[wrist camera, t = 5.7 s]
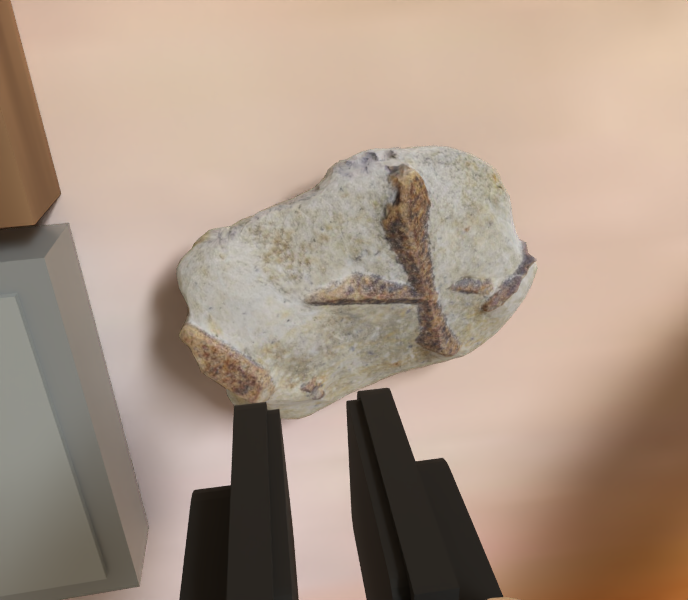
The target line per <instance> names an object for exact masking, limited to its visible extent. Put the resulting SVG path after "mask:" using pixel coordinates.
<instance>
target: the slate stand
mask: <svg viewBox="0 0 688 600" xmlns="http://www.w3.org/2000/svg"><path fill="white" fill-rule="evenodd" d="M148 529H149V526H148V522H147V518H146V514H145V511H144V507H143V503H142V499H141V495H140V492H139V488H138V484H137V480H136V476H135V473H134V469H133V465H132V461H131V457H130V454H129V450H128V446H127V442H126V438H125V435H124V431H123V427H122V423H121V419H120V416H119V412H118V408H117V404H116V400H115V397H114V393H113V389H112V385H111V381H110V378H109V374H108V370H107V366H106V362H105V359H104V355H103V351H102V347H101V343H100V340H99V336H98V332H97V328H96V324H95V321H94V317H93V313H92V309H91V305H90V302H89V298H88V294H87V290H86V286H85V283H84V279H83V275H82V271H81V267H80V264H79V260H78V256H77V252H76V248H75V245H74V241H73V237H72V233H71V229H70V226H69V223H64V224H53V225H42V226H31V227H20V228H9V229H0V600H62V599H68V598H74V597H80V596H86V595H92V594H97V593H103V592H109V591H115V590H121V589H127V588H133V587H139V586H140V581H141V575H142V568H143V562H144V555H145V549H146V542H147V536H148Z"/></svg>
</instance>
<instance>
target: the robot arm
mask: <svg viewBox="0 0 688 600" xmlns="http://www.w3.org/2000/svg"><path fill="white" fill-rule="evenodd" d="M346 406H347V428H348V449H349V470H350V491H351V512H352V522H353V530H354V535H355V541H356V546H357V551H358V556H359V562H360V567H361V572H362V577H363V583H364V588H365V593H366V598H367V600H519V599H514V598H510V597H503V595H502V592H501V590H500V588H499V585H498V583H497V580H496V578H495V576H494V573H493V571H492V568H491V566H490V564H489V561H488V559H487V556H486V554H485V552H484V549H483V547H482V544H481V542H480V540H479V537H478V535H477V532H476V530H475V528H474V525H473V523H472V521H471V518H470V516H469V513H468V511H467V509H466V506H465V504H464V501H463V499H462V497H461V494H460V492H459V489H458V487H457V485H456V482H455V480H454V477H453V475H452V473H451V470H450V468H449V466H448V464H447V462H446V461H445V460H444V459H443V458H439V459H431V460H423V461H416V462H415V459H414V456H413V453H412V451H411V448H410V445H409V442H408V439H407V436H406V433H405V431H404V428H403V425H402V422H401V419H400V416H399V414H398V411H397V408H396V405H395V402H394V399H393V396H392V394H391V391H390V389H389V388H382V389H373V390H364V391H358V392H357V400H351V401H347V404H346ZM179 600H299V599H298V587H297V574H296V561H295V549H294V536H293V526H292V516H291V507H290V498H289V489H288V480H287V471H286V462H285V453H284V444H283V435H282V426H281V418H280V409H274V410H268V409H267V403H266V402H260V403H252V404H243V405H235V406H234V420H233V446H232V471H231V485H230V486H222V487H214V488H206V489H198V490H194V491H193V493H192V498H191V505H190V513H189V522H188V531H187V539H186V548H185V556H184V565H183V573H182V582H181V590H180V599H179Z"/></svg>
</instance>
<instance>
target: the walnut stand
mask: <svg viewBox="0 0 688 600" xmlns="http://www.w3.org/2000/svg"><path fill="white" fill-rule="evenodd" d="M60 194H61V191H60V188H59V184H58V180H57V176H56V172H55V169H54V165H53V161H52V157H51V153H50V150H49V146H48V142H47V138H46V134H45V131H44V127H43V123H42V119H41V115H40V112H39V108H38V104H37V100H36V96H35V93H34V89H33V85H32V81H31V77H30V74H29V70H28V66H27V62H26V58H25V55H24V51H23V47H22V43H21V39H20V36H19V32H18V28H17V24H16V20H15V16H14V13H13V9H12V5H11V1H10V0H0V228H5V227H16V226H27V225H35V224H36V223H37V221H38V220H39V219H40V218H41V217H42V216H43V214H44V213H45V212H46V211H47V210H48V209H49V207H50V206H51V205H52V204H53V203H54V201H55V200H56V199H57V198H58V197H59V196H60Z"/></svg>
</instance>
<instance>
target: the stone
mask: <svg viewBox="0 0 688 600" xmlns="http://www.w3.org/2000/svg"><path fill="white" fill-rule="evenodd" d="M535 261H536V258H534V257H532V256H531V255H530V254H529V253H528V250H527V245H526V242H524V241H522V240H520V239H519V237H518V235H517V233H516V230H515V226H514V223H513V218H512V208H511V202H510V197H509V194H508V193H507V191H506V189H505V187H504V185H503V184H502V182H501V179H500V176H499V174H498V172H497V171H496V169H494V168H493V167H492V166H491V165H489V164H488V163H486V162H484V161H483V160H481V159H479V158H477V157H475V156H474V155H472V154H470V153H467V152H464V151H460V150H457V149H454V148H450V147H445V146H419V147H409V148H404V149H402V148H399V147H397V148H389V149H370V150H366V151H363V152H360V153H358V154H356V155H354V156H352V157H350V158H348V159H346V160H341V161H339V162H338V163H335V164H334V165H333V166H332V167H331V168H329V169H328V171H327V173H326V175H325V177H324V178H323V179H322V180H321V181H320V182H319V183H318V185H317V186H315V187H314V188H312V189H311V190H308V191H306V192H304V193H302V194H300V195H298V196H296V197H295V198H293V199H290V200H287V201H284V202H281V203H278V204H276V205H273V206H271V207H269V208H267V209H264V210H262V211H260V212H258V213H257V214H255V215H254V216H249V217H247V218H244V219H242V220H240V221H238V222H237V223H235V224H234V225H232V226H229V227H223V228H215V229H212V230H209V231H208V232H206V233H205V234H204V235H203V236H202V237H200V238H199V239H198V240H197V241H196V242H195V243H194V245H193V247H192V249H191V250H190V251H189V252H188V253H187V254H186V255H185V256H184V257H183V258H182V259H181V261H180V263H179V265H178V267H177V270H176V276H177V280H178V285H179V289H180V291H181V293H182V295H183V297H184V299H185V301H186V303H187V305H188V312H187V319H186V321H185V323H184V325H183V327H182V329H181V331H180V334H179V338H180V339H181V340H182V342H183V343H185V344H186V345H187V346H188V347H190V349H191V351H192V353H193V355H194V357H195V359H196V361H197V363H198V366H199V368H200V371H201V372H202V373H203V374H205V375H206V376H207V377H209V378H210V379H212V380H214V381H215V382H217V383H218V384H220V385H221V386H223V387H224V388H225V389H226V391H227V396H228V398H229V399H230V401H231V402H232V404H233V405H234V406H235V405H243V404H252V403H260V402H266V403H267V409H268V410H274V409H280V418H281V419H300V418H303V417H306V416H309V415H311V414H313V413H315V412H316V411H318V410H320V409H322V408H324V407H326V406H328V405H330V404H332V403H334V402H336V401H337V400H339V399H341V398H343V397H344V396H346V395H348V394H350V393H352V392H354V391H356V390H359V389H361V388H364V387H366V386H369V385H371V384H374V383H376V382H378V381H380V380H382V379H384V378H387V377H389V376H392V375H394V374H397V373H399V372H404V371H408V370H410V369H415V368H420V367H424V366H428V365H431V364H436V363H441V362H445V361H448V360H451V359H454V358H458V357H462V356H464V355H466V354H468V353H470V352H472V351H473V350H475V349H476V348H477V347H479V346H480V345H482V344H483V343H484V342H486V341H487V340H488V339H489V338H491V337H492V336H493V335H494V334H496V333H497V332H498V331H499V330H500V329H501V327H502V326H503V325H504V324H505V323H506V322H507V321H508V320H509V319H510V317H511V316H512V315H513V314H514V312H515V311H516V310H517V308H518V307H519V305H520V304H521V302H522V301H523V300H524V298H525V297H526V295H527V293H528V291H529V289H530V287H531V285H532V282H533V279H534V277H535V274H536V271H537V264H536V262H535Z"/></svg>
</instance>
